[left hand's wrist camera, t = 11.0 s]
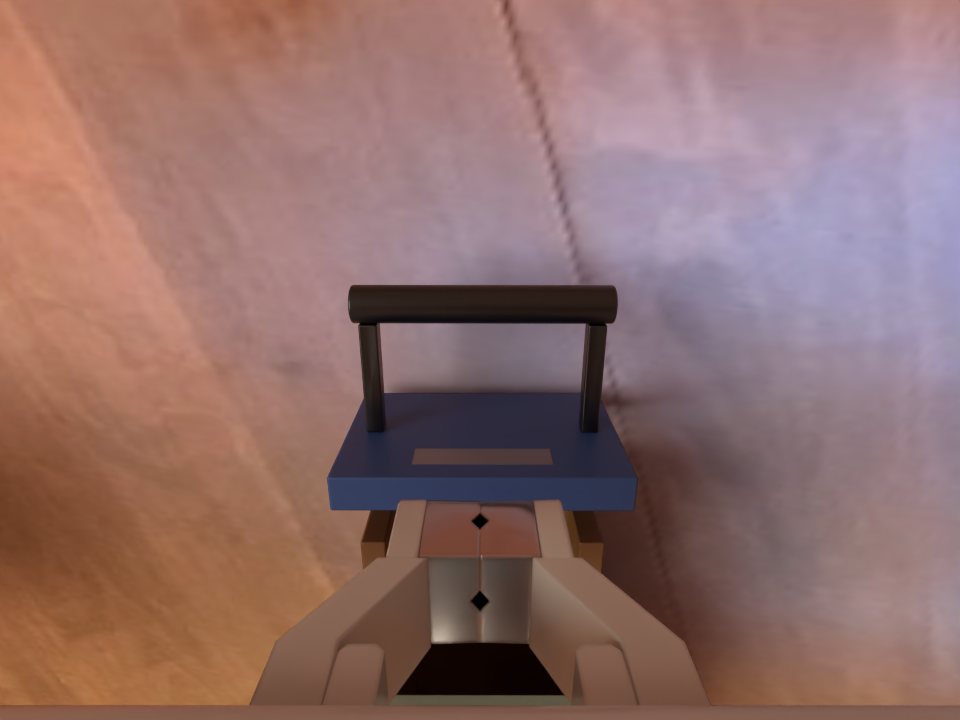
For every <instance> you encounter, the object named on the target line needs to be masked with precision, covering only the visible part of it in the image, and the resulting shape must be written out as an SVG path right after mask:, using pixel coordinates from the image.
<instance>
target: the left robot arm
mask: <svg viewBox="0 0 960 720" xmlns="http://www.w3.org/2000/svg"><path fill="white" fill-rule="evenodd" d="M448 643H511V644H529V647H530V648H531V650H532V651H533V652H534V654H535V655H536V657H537V658H538V659H539V661H540V662H541V663H542V665H543V666H544V668H545V669H546V670H547V672H548V673H549V674H550V676H551V677H552V679H553V680H554V681H555V683H556V684H557V685H558V687H559V688H560V690H561V691H562V692H563V694H564V695H565V697H566V698H567V699H568V701H569V702H570V703H571V705H389V704H390V702H391V701H392V700H393V698H394V697H395V696H396V694H397V693H398V691H399V690H400V689H401V687H402V686H403V685H404V683H405V682H406V680H407V679H408V678H409V676H410V675H411V674H412V672H413V671H414V669H415V668H416V667H417V665H418V664H419V663H420V661H421V660H422V659H423V657H424V656H425V654H426V653H427V652H428V650H429V649H430V648H431V644H448ZM0 720H960V705H711V704H710V702H709V700H708V697H707V695H706V692H705V690H704V687H703V685H702V683H701V680H700V678H699V675H698V673H697V670H696V668H695V666H694V663H693V661H692V658H691V656H690V653H689V651H688V649H687V646H686V644H685V642H684V641H683V640H682V639H680V638H679V637H678V636H677V635H676V634H674V633H673V632H672V631H671V630H670V629H668V628H667V627H666V626H665V625H663V624H662V623H661V622H660V621H659V620H657V619H656V618H655V617H654V616H653V615H651V614H650V613H649V612H648V611H646V610H645V609H644V608H643V607H642V606H640V605H639V604H638V603H637V602H636V601H634V600H633V599H632V598H631V597H629V596H628V595H627V594H626V593H625V592H623V591H622V590H621V589H620V588H619V587H617V586H616V585H615V584H614V583H612V582H611V581H610V580H609V579H608V578H606V577H605V576H604V575H603V574H602V573H600V572H599V571H598V570H597V569H595V568H594V567H593V566H592V565H591V564H589V563H588V562H587V561H586V560H585V559H583V558H574V554H573V550H572V546H571V541H570V537H569V533H568V529H567V524H566V520H565V516H564V511H563V507H562V503H561V501H560V500H559V499H557V500H533V501H491V502H480V501H457V500H428V501H427V500H401V501H400V502H399V503H398V507H397V511H396V515H395V520H394V524H393V528H392V533H391V537H390V541H389V546H388V550H387V554H386V558H377V559H376V560H374V561H373V562H372V563H371V564H369V565H368V566H367V567H366V568H365V569H363V570H362V571H361V572H360V573H358V574H357V575H356V576H355V577H354V578H352V579H351V580H350V581H349V582H347V583H346V584H345V585H344V586H343V587H341V588H340V589H339V590H338V591H336V592H335V593H334V594H333V595H332V596H330V597H329V598H328V599H327V600H325V601H324V602H323V603H322V604H321V605H319V606H318V607H317V608H316V609H314V610H313V611H312V612H311V613H310V614H308V615H307V616H306V617H305V618H304V619H302V620H301V621H300V622H299V623H297V624H296V625H295V626H294V627H293V628H291V629H290V630H289V631H288V632H286V633H285V634H284V635H283V636H282V637H280V638H279V639H278V640H277V641H276V642H275V644H274V647H273V649H272V652H271V654H270V656H269V659H268V661H267V664H266V666H265V668H264V671H263V673H262V676H261V678H260V680H259V683H258V685H257V688H256V690H255V692H254V695H253V697H252V700H251V702H250V704H249V705H0Z"/></svg>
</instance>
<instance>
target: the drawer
mask: <svg viewBox="0 0 960 720" xmlns="http://www.w3.org/2000/svg"><path fill="white" fill-rule="evenodd" d="M617 308H618V297H617V291H616V288H615V287H614V286H612V285H352V286H351V287H350V290H349V295H348V311H349V316H350V319H351V321H352V322H353V323H360V324H359V326H358V329H359V341H360V354H361V366H362V379H363V391H364V399H363V401H362V404H361V406H360V408H359V410H358V412H357V414H356V417H355V419H354V421H353V423H352V425H351V427H350V430H349V432H348V434H347V436H346V438H345V440H344V443H343V445H342V447H341V449H340V451H339V453H338V456H337V458H336V460H335V462H334V464H333V466H332V469H331V471H330V473H329V475H328V477H327V482H328V491H329V500H330V508H331V510H371V511H370V514H369V517H368V521H367V524H366V527H365V530H364V534H363V537H362V540H361V552H362V563H363V569H365V568H366V567H367V566H368V565H369V564H371V563H372V562H373V561H374V560H376V559H377V558H386V554H387V550H388V546H389V541H390V537H391V533H392V528H393V524H394V520H395V515H396V511H397V507H398V503H399V502H400V501H401V500H427V501H428V500H457V501H480V502H491V501H533V500H557V499H559V500H560V501H561V503H562V507H563V511H564V516H565V520H566V524H567V529H568V533H569V537H570V541H571V546H572V550H573V554H574V558H583V559H585V560H586V561H587V562H588V563H589V564H591V565H592V566H593V567H594V568H595V569H597V570H598V571H599V572H600V573H601V570H602V560H603V550H604V541H603V538H602V535H601V532H600V528H599V525H598V522H597V519H596V516H595V512H594V511H633V510H634V509H635V501H636V493H637V485H638V477H637V475H636V473H635V471H634V469H633V467H632V465H631V462H630V460H629V458H628V456H627V454H626V452H625V450H624V448H623V445H622V443H621V441H620V439H619V437H618V435H617V433H616V431H615V429H614V426H613V424H612V422H611V420H610V418H609V416H608V414H607V412H606V410H605V407H604V405H603V403H602V401H601V392H602V380H603V369H604V358H605V346H606V335H607V325H606V324H612V323H614V321H615V319H616V315H617ZM380 323H540V324H586V328H585V342H584V356H583V370H582V383H581V394H564V393H384V383H383V368H382V353H381V338H380ZM396 695H564V694H563V692H562V691H561V690H560V688H559V687H558V685H557V684H556V683H555V681H554V680H553V679H552V677H551V676H550V674H549V673H548V672H547V670H546V669H545V668H544V666H543V665H542V663H541V662H540V661H539V659H538V658H537V657H536V655H535V654H534V652H533V651H532V650H531V648H530V647H529V644H511V643H448V644H431V648H430V649H429V650H428V652H427V653H426V654H425V656H424V657H423V659H422V660H421V661H420V663H419V664H418V665H417V667H416V668H415V669H414V671H413V672H412V674H411V675H410V676H409V678H408V679H407V680H406V682H405V683H404V685H403V686H402V687H401V689H400V690H399V691H398V693H397V694H396Z"/></svg>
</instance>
